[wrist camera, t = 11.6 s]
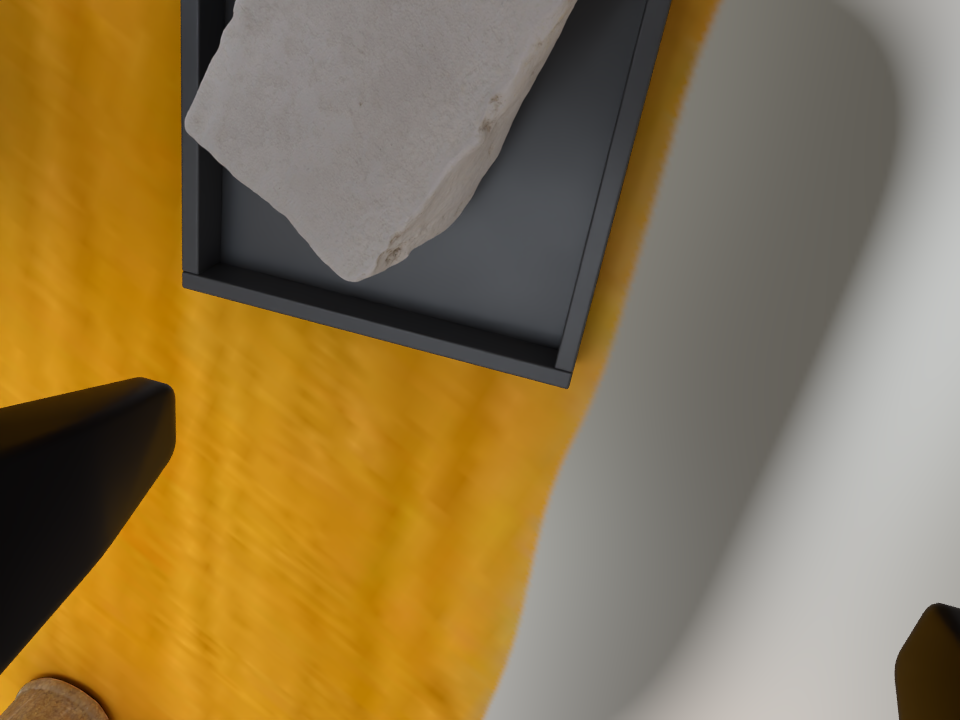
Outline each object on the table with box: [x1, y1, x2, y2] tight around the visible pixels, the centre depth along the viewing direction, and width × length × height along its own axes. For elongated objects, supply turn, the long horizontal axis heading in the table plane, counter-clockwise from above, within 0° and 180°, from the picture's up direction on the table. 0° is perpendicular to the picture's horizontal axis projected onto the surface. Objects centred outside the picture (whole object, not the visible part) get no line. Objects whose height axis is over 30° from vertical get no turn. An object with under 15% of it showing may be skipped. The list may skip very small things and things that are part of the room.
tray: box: [181, 0, 672, 389], centre depth 18 cm, size 15×11×2 cm
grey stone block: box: [185, 0, 577, 282], centre depth 16 cm, size 10×6×6 cm, turn 141°
